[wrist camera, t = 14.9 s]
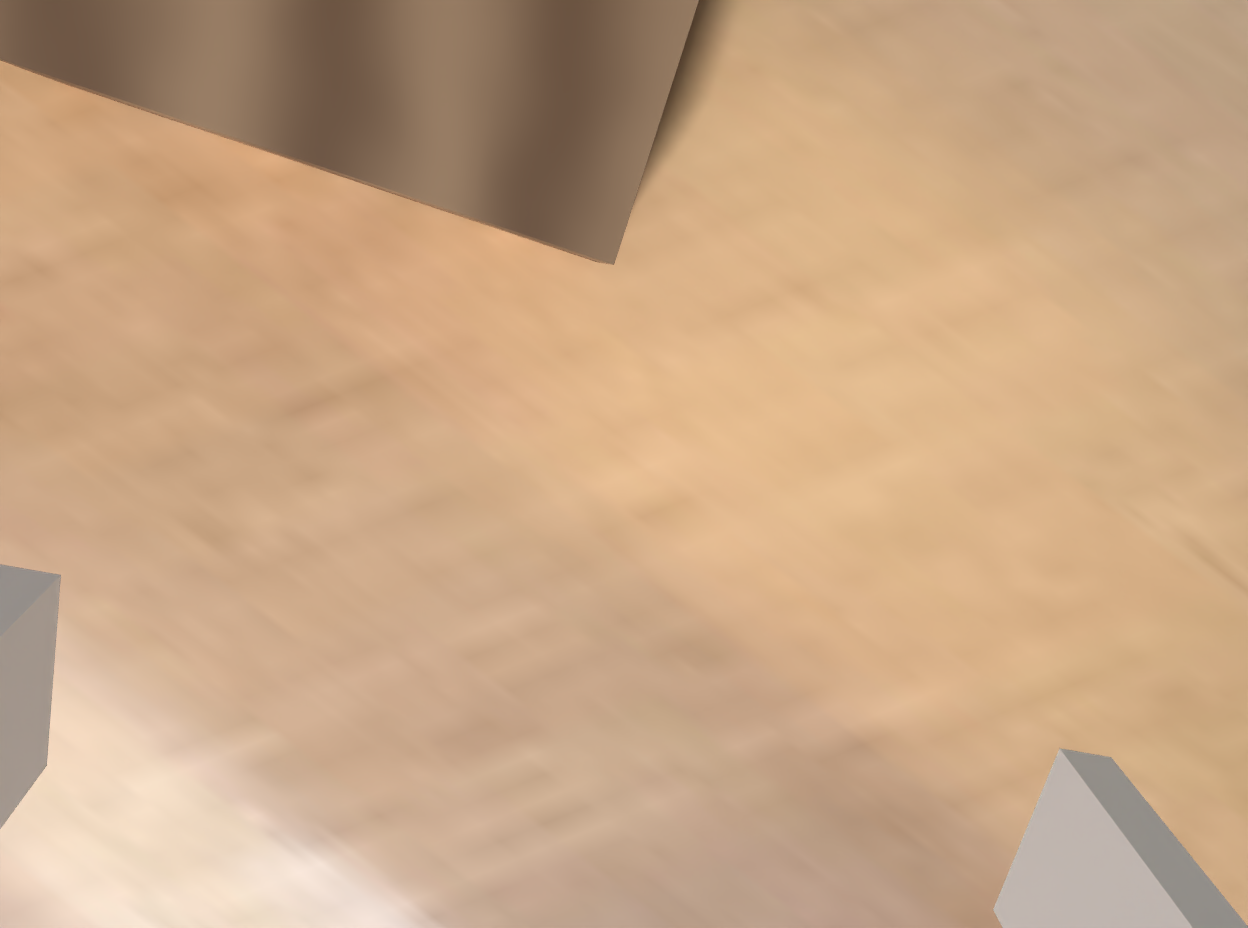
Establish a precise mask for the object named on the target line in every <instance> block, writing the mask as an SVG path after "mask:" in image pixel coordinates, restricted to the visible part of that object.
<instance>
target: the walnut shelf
mask: <svg viewBox="0 0 1248 928" xmlns="http://www.w3.org/2000/svg"><path fill="white" fill-rule="evenodd" d="M698 2H699V0H0V60H1V61H4V62H6V63H9V64H12V65H14V66H17V67H20V68H22V69H25V70H28V71H31V72H33V73H36V74H39V75H41V76H44V77H47V78H49V79H52V80H55V81H58V82H61V83H64V84H67V85H70V86H73V87H76V88H79V89H82V90H85V91H88V92H90V93H93V94H96V95H99V96H102V97H105V98H108V99H111V100H114V101H117V102H120V103H123V104H126V105H129V106H132V107H135V108H138V109H141V110H144V111H147V112H150V113H153V114H156V115H159V116H162V117H165V118H168V119H171V120H174V121H177V122H180V123H183V124H186V125H189V126H192V127H195V128H198V129H201V130H204V131H207V132H210V133H213V134H216V135H219V136H222V137H225V138H228V139H231V140H234V141H237V142H240V143H243V144H246V145H249V146H252V147H255V148H258V149H261V150H264V151H267V152H270V153H273V154H276V155H279V156H282V157H285V158H288V159H291V160H294V161H297V162H300V163H303V164H306V165H309V166H312V167H315V168H318V169H321V170H324V171H327V172H330V173H333V174H336V175H339V176H342V177H344V178H347V179H350V180H353V181H356V182H359V183H362V184H365V185H368V186H371V187H374V188H377V189H380V190H383V191H386V192H389V193H392V194H395V195H398V196H401V197H404V198H407V199H410V200H413V201H416V202H419V203H422V204H425V205H428V206H431V207H434V208H437V209H440V210H443V211H446V212H449V213H452V214H455V215H458V216H461V217H464V218H467V219H470V220H473V221H476V222H479V223H482V224H485V225H488V226H491V227H494V228H497V229H500V230H503V231H506V232H509V233H512V234H515V235H518V236H521V237H524V238H527V239H530V240H533V241H536V242H539V243H542V244H545V245H548V246H551V247H554V248H557V249H560V250H563V251H566V252H569V253H572V254H575V255H578V256H581V257H584V258H587V259H590V260H593V261H596V262H600V263H606V264H612V265H614V263H615V260H616V257H617V254H618V251H619V247H620V244H621V241H622V238H623V235H624V232H625V229H626V226H627V223H628V219H629V216H630V213H631V210H632V207H633V204H634V201H635V198H636V195H637V191H638V188H639V185H640V182H641V179H642V176H643V173H644V170H645V167H646V163H647V160H648V157H649V154H650V151H651V148H652V145H653V142H654V139H655V136H656V132H657V129H658V126H659V123H660V120H661V117H662V114H663V111H664V108H665V104H666V101H667V98H668V95H669V92H670V89H671V86H672V83H673V80H674V76H675V73H676V70H677V67H678V64H679V61H680V58H681V55H682V52H683V48H684V45H685V42H686V39H687V36H688V33H689V30H690V27H691V24H692V20H693V17H694V14H695V11H696V8H697V5H698Z"/></svg>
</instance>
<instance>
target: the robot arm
mask: <svg viewBox="0 0 1248 928" xmlns="http://www.w3.org/2000/svg"><path fill="white" fill-rule="evenodd" d="M60 579H61V575H58V574H52V573H47V572H41V571H35V570H29V569H24V568H18V567H12V566H6V565H1V564H0V829H1V827H2V826H3V825H4V823H5V822H6V821H7V819H8V818H9V816H10V815H11V814H12V812H13V811H14V810H15V808H16V807H17V805H18V804H19V803H20V801H21V800H22V799H23V797H24V796H25V795H26V793H27V792H28V790H29V789H30V788H31V786H32V785H33V784H34V782H35V781H36V779H37V778H38V777H39V775H40V774H41V773H42V771H43V770H44V769H45V767H46V766H47V755H48V741H49V728H50V714H51V701H52V687H53V674H54V660H55V647H56V633H57V620H58V606H59V592H60ZM993 910H994V912H995V914H996V916H997V918H998V920H999V922H1000V924H1001V925H1002V927H1003V928H1248V926H1247V925H1246V924H1245V922H1244V921H1243V920H1242V919H1241V917H1240V916H1239V915H1238V914H1237V912H1236V911H1235V910H1234V909H1233V908H1232V906H1231V905H1230V904H1229V903H1228V901H1227V900H1226V899H1225V898H1224V896H1223V895H1222V894H1221V893H1220V891H1219V890H1218V889H1217V888H1216V886H1215V885H1214V884H1213V883H1212V882H1211V880H1210V879H1209V878H1208V877H1207V875H1206V874H1205V873H1204V872H1203V870H1202V869H1201V868H1200V867H1199V865H1198V864H1197V863H1196V862H1195V861H1194V859H1193V858H1192V857H1191V856H1190V854H1189V853H1188V852H1187V851H1186V849H1185V848H1184V847H1183V846H1182V844H1181V843H1180V842H1179V841H1178V839H1177V838H1176V837H1175V836H1174V835H1173V833H1172V832H1171V831H1170V830H1169V828H1168V827H1167V826H1166V825H1165V823H1164V822H1163V821H1162V820H1161V818H1160V817H1159V816H1158V815H1157V814H1156V812H1155V811H1154V810H1153V809H1152V807H1151V806H1150V805H1149V804H1148V802H1147V801H1146V800H1145V799H1144V797H1143V796H1142V795H1141V794H1140V792H1139V791H1138V790H1137V789H1136V788H1135V786H1134V785H1133V784H1132V783H1131V781H1130V780H1129V779H1128V778H1127V776H1126V775H1125V774H1124V773H1123V771H1122V770H1121V769H1120V768H1119V766H1118V765H1117V764H1116V763H1115V762H1114V760H1113V759H1112V758H1111V757H1106V756H1100V755H1095V754H1089V753H1083V752H1077V751H1072V750H1066V749H1059V751H1058V754H1057V756H1056V758H1055V761H1054V763H1053V766H1052V768H1051V771H1050V773H1049V775H1048V778H1047V780H1046V783H1045V785H1044V788H1043V790H1042V792H1041V795H1040V797H1039V800H1038V802H1037V805H1036V807H1035V810H1034V812H1033V814H1032V817H1031V819H1030V822H1029V824H1028V827H1027V829H1026V831H1025V834H1024V836H1023V839H1022V841H1021V844H1020V846H1019V848H1018V851H1017V853H1016V856H1015V858H1014V861H1013V863H1012V865H1011V868H1010V870H1009V873H1008V875H1007V878H1006V880H1005V882H1004V885H1003V887H1002V890H1001V892H1000V895H999V897H998V899H997V902H996V904H995V907H994V909H993Z"/></svg>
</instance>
